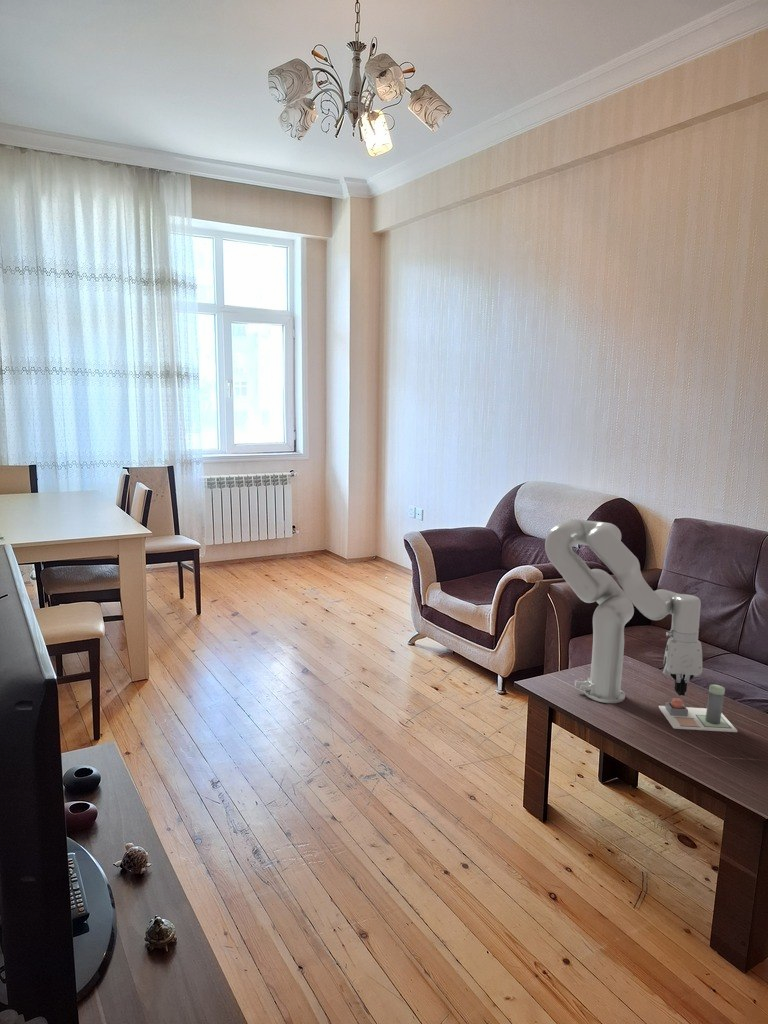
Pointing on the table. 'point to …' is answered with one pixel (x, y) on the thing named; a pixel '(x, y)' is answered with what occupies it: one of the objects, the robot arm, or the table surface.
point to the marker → (715, 704)
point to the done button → (677, 703)
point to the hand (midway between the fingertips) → (680, 693)
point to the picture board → (694, 719)
